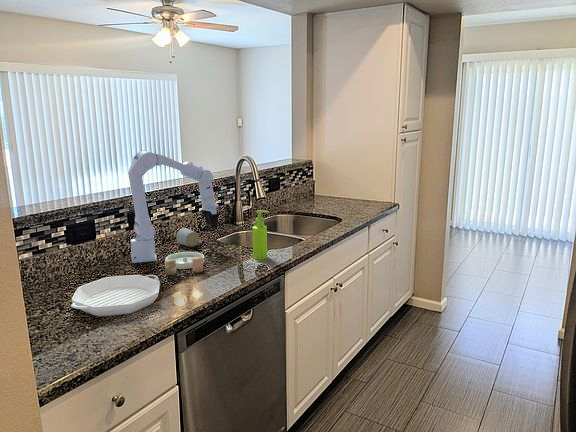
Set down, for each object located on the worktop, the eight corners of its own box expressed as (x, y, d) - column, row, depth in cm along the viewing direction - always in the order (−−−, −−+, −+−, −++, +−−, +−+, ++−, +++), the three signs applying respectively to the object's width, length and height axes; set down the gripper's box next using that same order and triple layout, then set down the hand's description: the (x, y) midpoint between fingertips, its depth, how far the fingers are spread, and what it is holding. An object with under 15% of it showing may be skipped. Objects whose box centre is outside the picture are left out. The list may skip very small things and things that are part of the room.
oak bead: (165, 275, 167) (164, 262, 165) (165, 272, 170) (164, 259, 169) (176, 274, 168) (175, 261, 167) (176, 271, 171) (175, 258, 170)
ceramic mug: (187, 249, 199) (186, 232, 197) (176, 245, 204) (175, 229, 203) (206, 244, 207) (205, 228, 205) (195, 241, 212) (194, 225, 210)
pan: (131, 279, 163) (130, 268, 162) (183, 294, 150) (182, 281, 149) (49, 310, 137) (47, 297, 136) (102, 331, 124) (101, 316, 123)
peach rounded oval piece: (193, 272, 169) (192, 260, 168) (192, 269, 173) (191, 257, 172) (203, 271, 170) (203, 259, 169) (202, 268, 174) (202, 256, 173)
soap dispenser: (267, 260, 184) (267, 212, 180) (251, 258, 186) (250, 211, 181) (271, 255, 190) (270, 209, 185) (255, 254, 191) (254, 208, 187)
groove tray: (166, 270, 172) (166, 265, 171) (165, 258, 186) (165, 253, 185) (206, 266, 176) (205, 261, 176) (202, 255, 190) (201, 250, 190)
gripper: (221, 197, 189) (226, 228, 193) (211, 192, 202) (216, 220, 206) (205, 201, 187) (210, 232, 190) (196, 195, 199) (201, 224, 203)
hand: (212, 226), depth 198 cm, fingers open, 7 cm apart
